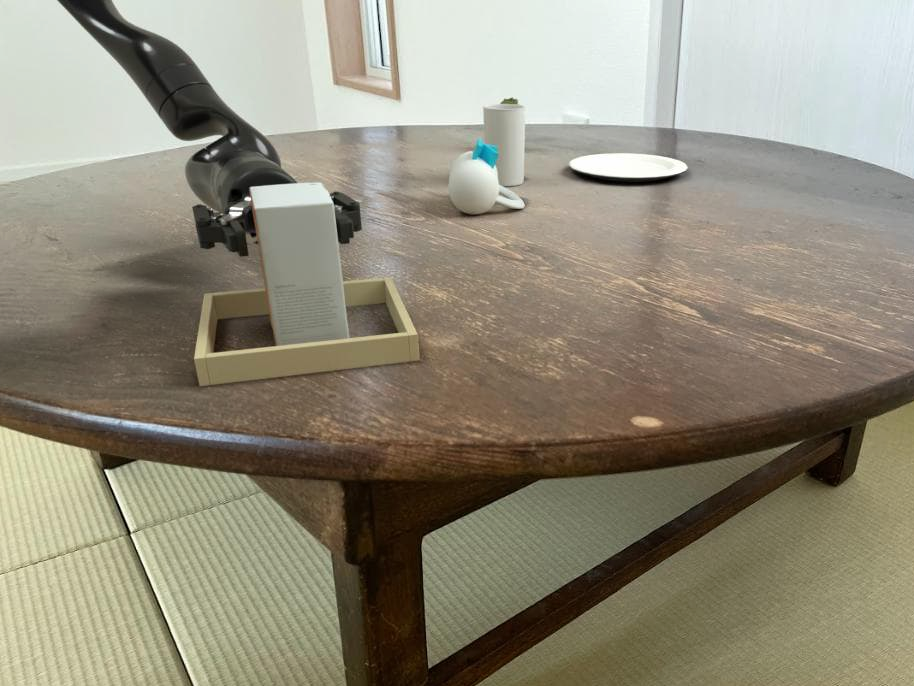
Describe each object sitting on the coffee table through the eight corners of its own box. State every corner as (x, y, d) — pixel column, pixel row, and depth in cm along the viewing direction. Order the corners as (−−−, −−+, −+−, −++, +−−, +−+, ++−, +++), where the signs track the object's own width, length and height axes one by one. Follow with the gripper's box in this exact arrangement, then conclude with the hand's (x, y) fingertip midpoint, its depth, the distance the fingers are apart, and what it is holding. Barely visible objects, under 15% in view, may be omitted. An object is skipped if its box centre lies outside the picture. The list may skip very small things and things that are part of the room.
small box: (270, 326, 75) (247, 185, 69) (338, 318, 77) (323, 180, 71) (276, 359, 68) (252, 207, 62) (351, 350, 70) (335, 201, 64)
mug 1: (531, 185, 131) (531, 108, 126) (493, 188, 129) (491, 110, 123) (508, 173, 140) (508, 100, 134) (472, 176, 137) (470, 102, 132)
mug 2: (464, 144, 107) (465, 130, 118) (439, 207, 111) (443, 188, 121) (543, 180, 110) (537, 163, 120) (517, 239, 113) (514, 218, 124)
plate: (687, 164, 148) (688, 155, 147) (686, 189, 130) (687, 178, 129) (576, 159, 151) (576, 150, 150) (559, 183, 133) (560, 172, 132)
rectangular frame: (200, 392, 63) (193, 358, 62) (209, 322, 77) (204, 293, 75) (420, 366, 68) (417, 334, 67) (393, 304, 81) (390, 276, 80)
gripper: (334, 227, 85) (380, 270, 72) (191, 243, 79) (213, 293, 66) (326, 154, 81) (373, 186, 68) (175, 165, 75) (196, 202, 63)
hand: (294, 238), depth 67 cm, fingers open, 8 cm apart
